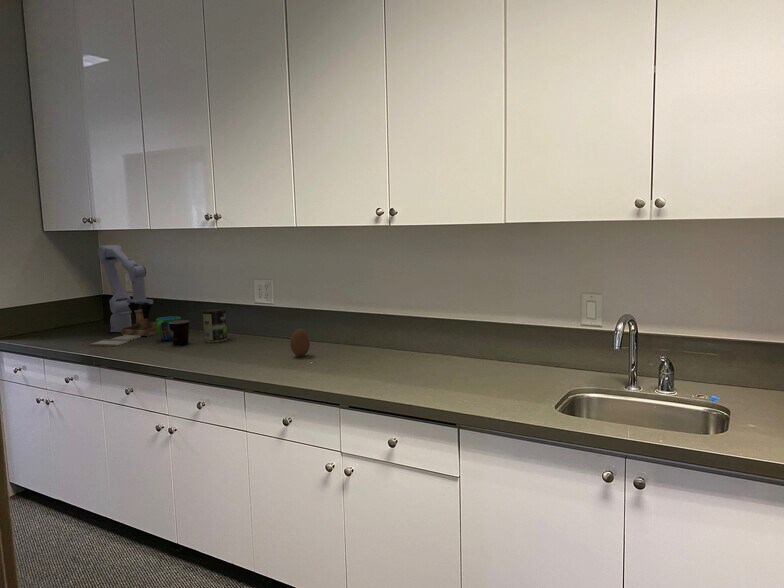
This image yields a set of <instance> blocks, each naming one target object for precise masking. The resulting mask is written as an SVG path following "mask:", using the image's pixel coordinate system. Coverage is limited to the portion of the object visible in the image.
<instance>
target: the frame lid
mask: <svg viewBox="0 0 784 588" xmlns="http://www.w3.org/2000/svg"><path fill="white" fill-rule="evenodd" d="M129 342H130V341H129V340H111V339H101V340H100V341H96V342H93V343H92V342H91V343H88V346H89V347H113V346H116V347H118V345H119V346H121V344H122V345H124V343H125V344H128V343H129Z"/></svg>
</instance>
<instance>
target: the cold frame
mask: <svg viewBox="0 0 784 588" xmlns="http://www.w3.org/2000/svg"><path fill="white" fill-rule="evenodd" d="M156 329H157V322H156V321H147V322H143V323H137V320H135V324H134V325H131V326H129V327H125V328H122V329H121V332H120V336H121V335H138V336H147V337H146V338H149V337H148V336H150V337H152V336H151V335H153V336H156V335H155V334H157V333H156Z"/></svg>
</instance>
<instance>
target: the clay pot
mask: <svg viewBox="0 0 784 588" xmlns="http://www.w3.org/2000/svg"><path fill="white" fill-rule="evenodd" d="M134 313H135V314H136V318H135V319H136V320H135V321H137V323H143V322H148V318H147V319H144V316H143V310H142V308H140V309H139V308H138V310H134Z"/></svg>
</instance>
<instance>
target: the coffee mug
mask: <svg viewBox="0 0 784 588" xmlns="http://www.w3.org/2000/svg"><path fill="white" fill-rule="evenodd" d="M169 327H170V332H171V337H172V340H171V341H172V342H171V343H172V346H174V345H181V346H185V345H184V344H187V345H188V344H189V338H190V337H189V336H190V334H189V331H190V320H183V319H181V320H180V321H172V322H169Z"/></svg>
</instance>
